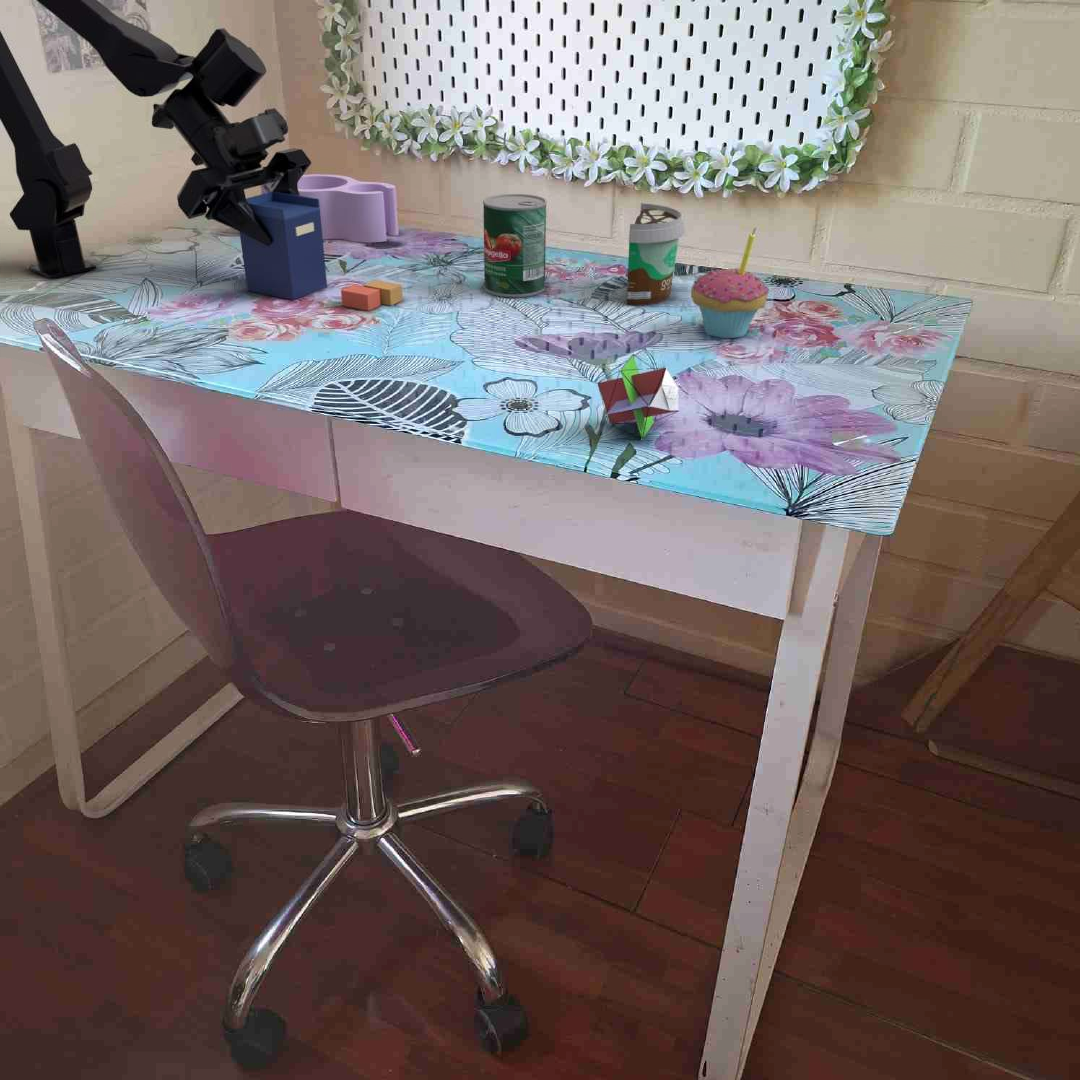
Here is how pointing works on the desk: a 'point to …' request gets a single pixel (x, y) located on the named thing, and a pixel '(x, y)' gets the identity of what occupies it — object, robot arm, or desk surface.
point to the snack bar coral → (360, 297)
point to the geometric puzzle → (639, 396)
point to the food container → (653, 254)
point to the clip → (352, 207)
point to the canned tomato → (514, 245)
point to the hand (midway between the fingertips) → (289, 237)
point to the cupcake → (729, 298)
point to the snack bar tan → (387, 291)
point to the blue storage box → (285, 247)
